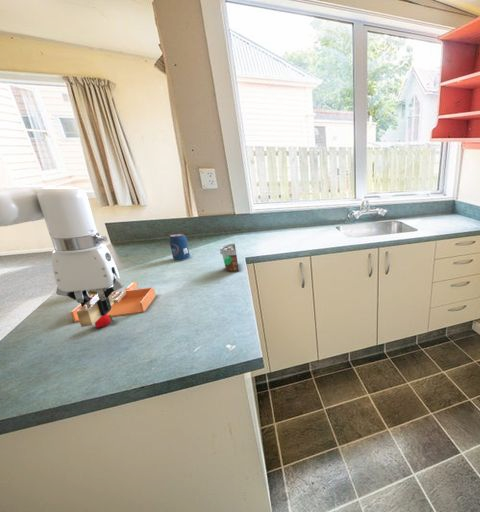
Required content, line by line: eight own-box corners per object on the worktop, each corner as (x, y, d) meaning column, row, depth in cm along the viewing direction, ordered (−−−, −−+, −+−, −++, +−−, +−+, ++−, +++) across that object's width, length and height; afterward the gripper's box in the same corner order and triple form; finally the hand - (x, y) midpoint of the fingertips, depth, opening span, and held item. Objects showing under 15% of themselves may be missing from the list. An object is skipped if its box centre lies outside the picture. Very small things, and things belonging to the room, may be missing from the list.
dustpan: (144, 312, 94) (141, 302, 93) (74, 322, 87) (70, 312, 86) (163, 285, 113) (161, 277, 112) (107, 292, 107) (105, 283, 106)
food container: (223, 265, 135) (219, 244, 131) (237, 263, 137) (234, 243, 134) (223, 274, 124) (219, 252, 121) (239, 272, 127) (235, 250, 124)
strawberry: (93, 317, 83) (110, 312, 85) (92, 316, 85) (108, 312, 88) (98, 328, 83) (114, 323, 86) (96, 327, 85) (112, 322, 88)
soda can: (169, 260, 141) (164, 235, 138) (183, 256, 148) (178, 232, 144) (180, 261, 139) (175, 237, 136) (193, 257, 146) (189, 233, 142)
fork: (76, 327, 67) (71, 312, 66) (111, 295, 83) (107, 282, 82) (97, 324, 69) (92, 309, 67) (127, 293, 85) (123, 280, 83)
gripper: (126, 236, 74) (143, 302, 79) (40, 241, 68) (65, 312, 74) (114, 244, 67) (133, 315, 73) (17, 250, 61) (46, 327, 67)
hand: (98, 313), depth 73 cm, fingers closed on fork, 2 cm apart
